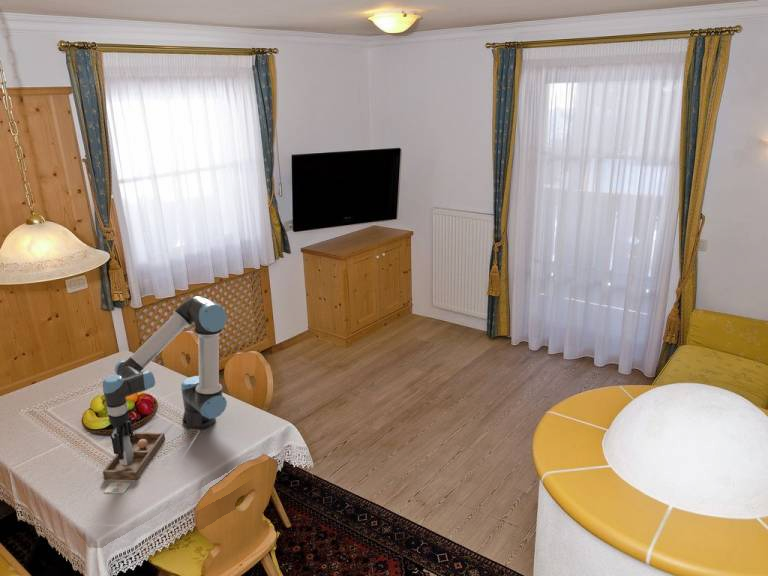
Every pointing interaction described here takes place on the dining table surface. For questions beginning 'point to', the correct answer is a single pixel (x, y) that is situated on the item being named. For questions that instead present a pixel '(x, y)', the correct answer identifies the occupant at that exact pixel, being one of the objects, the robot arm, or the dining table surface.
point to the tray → (135, 458)
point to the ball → (142, 443)
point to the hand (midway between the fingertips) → (127, 460)
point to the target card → (117, 488)
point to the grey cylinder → (128, 450)
